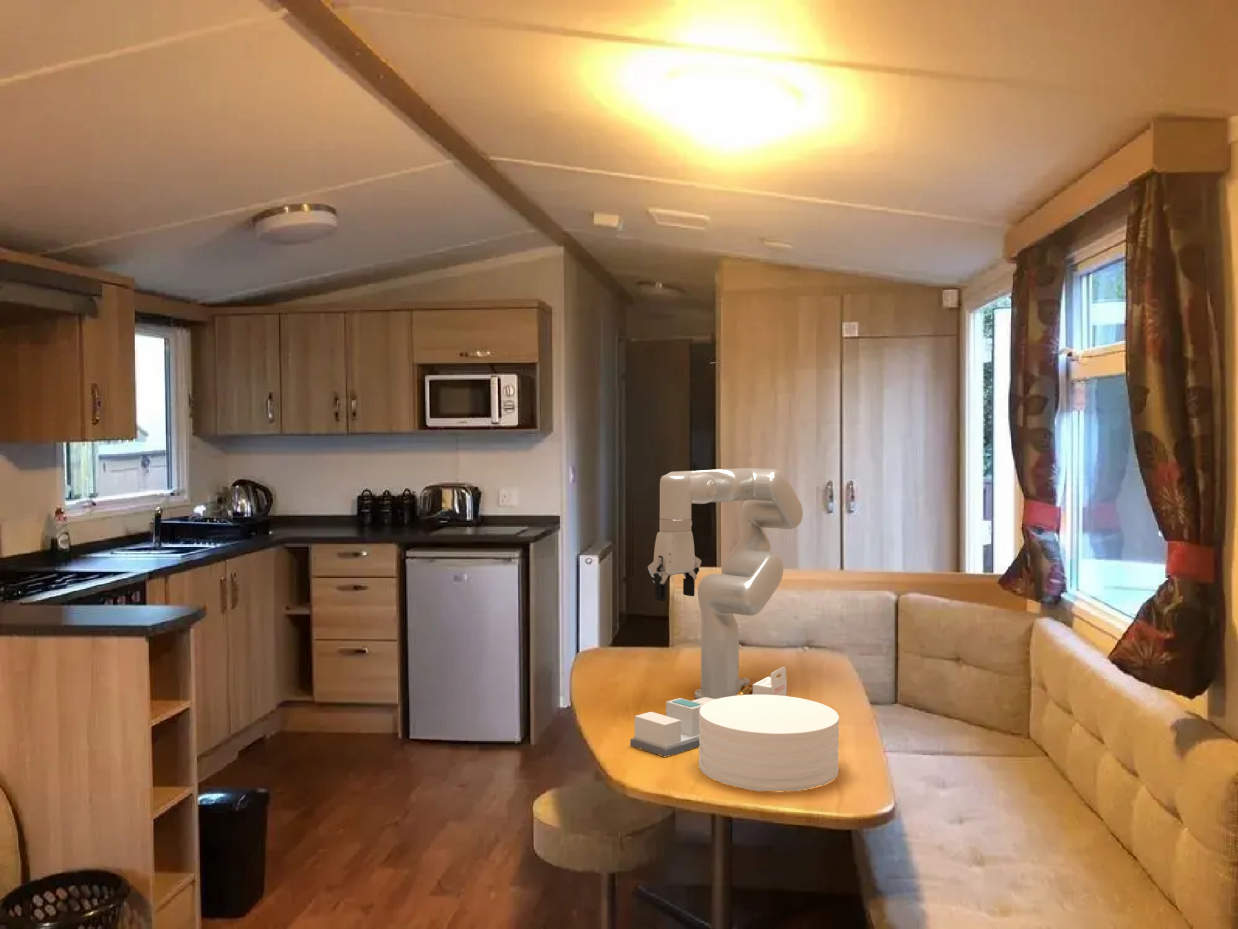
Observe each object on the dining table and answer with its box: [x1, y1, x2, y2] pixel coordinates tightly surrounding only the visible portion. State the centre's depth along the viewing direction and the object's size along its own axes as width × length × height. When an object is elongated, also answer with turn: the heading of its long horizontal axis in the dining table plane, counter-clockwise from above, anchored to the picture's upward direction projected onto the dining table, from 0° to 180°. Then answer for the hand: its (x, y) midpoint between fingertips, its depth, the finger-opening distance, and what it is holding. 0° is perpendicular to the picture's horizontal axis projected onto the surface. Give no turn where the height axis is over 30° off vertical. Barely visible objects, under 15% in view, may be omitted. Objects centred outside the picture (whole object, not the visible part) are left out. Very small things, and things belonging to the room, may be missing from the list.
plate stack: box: [698, 694, 840, 792], centre depth 207 cm, size 28×28×12 cm
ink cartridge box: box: [752, 665, 788, 696], centre depth 231 cm, size 9×5×15 cm, turn 148°
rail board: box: [629, 697, 715, 757], centre depth 225 cm, size 24×10×7 cm, turn 133°
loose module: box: [665, 697, 703, 737], centre depth 225 cm, size 4×8×6 cm, turn 42°
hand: (674, 597), depth 243 cm, fingers open, 9 cm apart
